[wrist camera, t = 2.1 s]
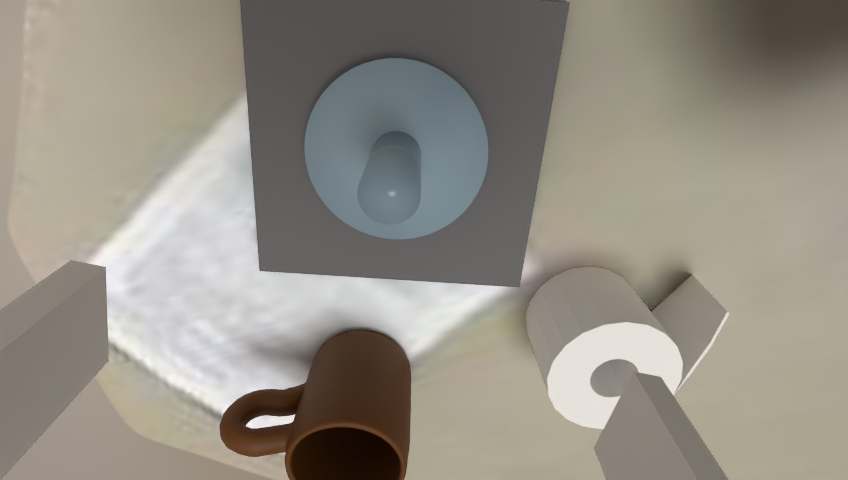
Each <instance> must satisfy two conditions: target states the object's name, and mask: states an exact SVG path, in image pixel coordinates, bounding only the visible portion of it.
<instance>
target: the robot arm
mask: <svg viewBox="0 0 848 480" xmlns="http://www.w3.org/2000/svg"><path fill="white" fill-rule="evenodd" d="M108 361H109V360H108V328H107V296H106V267H102V266H97V265H92V264H87V263H82V262H77V261H72V260H71V261H69V262H68V263H67V264H65V265H64V266H62V267H61V268H59V269H58V270H57V271H55V272H54V273H52V274H51V275H49V276H48V277H47V278H45V279H44V280H42V281H41V282H39V283H38V284H37V285H35V286H34V287H32V288H31V289H29V290H28V291H27V292H25V293H24V294H22V295H21V296H20V297H18V298H17V299H15V300H14V301H12V302H11V303H10V304H8V305H7V306H5V307H4V308H2V309H1V310H0V480H1V479H2V478H3V476H5V475H6V474H7V472H8V471H9V470H10V469H11V468H12V467H13V466H14V465H15V464H16V463H17V461H18V460H19V459H20V458H21V457H22V456H23V455H24V454H25V453H26V452H27V450H28V449H29V448H30V447H31V446H32V445H33V444H34V443H35V442H36V440H37V439H38V438H39V437H40V436H41V435H42V434H43V432H44V431H45V430H46V429H47V428H48V427H49V426H50V425H51V424H52V423H53V422H54V421H55V419H56V418H57V417H58V416H59V415H60V414H61V413H62V412H63V411H64V410H65V408H66V407H67V406H68V405H69V404H70V403H71V402H72V401H73V400H74V398H75V397H76V396H77V395H78V394H79V393H80V392H81V391H82V390H83V388H84V387H85V386H86V385H87V384H88V383H89V382H90V381H91V380H92V379H93V377H94V376H95V375H96V374H97V373H98V372H99V371H100V370H101V369H102V368H103V366H104V365H105V364H106V363H107V362H108ZM594 450H595V452H596V455H597V457H598V460H599V462H600V465H601V468H602V470H603V473H604V475H605V478H606V480H728V478H727V477H726V475H725V474H724V472H723V471H722V469H721V467H720V466H719V464H718V463H717V461H716V460H715V458H714V457H713V455H712V454H711V452H710V451H709V449H708V448H707V446H706V445H705V443H704V442H703V440H702V439H701V437H700V436H699V434H698V432H697V431H696V429H695V428H694V426H693V425H692V423H691V422H690V420H689V419H688V417H687V416H686V414H685V413H684V411H683V410H682V408H681V407H680V405H679V404H678V402H677V401H676V399H675V397H674V396H673V394H672V393H671V391H670V390H669V388H668V387H667V385H666V384H665V382H664V381H663V379H662V378H661V377H659V376H654V375H649V374H644V373H639V372H634V371H633V373H632V375H631V377H630V379H629V381H628V383H627V385H626V387H625V389H624V391H623V393H622V394H621V396H620V398H619V400H618V402H617V404H616V406H615V408H614V410H613V412H612V414H611V416H610V418H609V420H608V421H607V423H606V425H605V427H604V429H603V431H602V433H601V435H600V437H599V439H598V441H597V443H596V445H595V447H594Z"/></svg>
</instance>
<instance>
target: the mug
mask: <svg viewBox="0 0 848 480" xmlns="http://www.w3.org/2000/svg"><path fill="white" fill-rule="evenodd" d="M294 414H296V415H295V418H294V421H293V422H292V423H289V424H285V425H278V426H272V427H265V428H258V429H251V428H248V427H246V424H247V423H248V422H249V421H250V420H252V419H254V418H256V417H258V416H263V415H271V416H289V415H294ZM410 414H411V370H410V365H409V362H408V359H407V357H406V355H405V353H404V352H403V351H402V349H401V348H400V347H399V346H398V345H397V344H396V343H394V342H393V341H392V340H390V339H389V338H387V337H385V336H383V335H381V334H378V333H375V332H370V331H350V332H346V333H342V334H340V335H337V336H335V337H333V338H331V339H330V340H329V341H327V342H326V343H325V344H324V345H323V346H322V347H321V348H320V350H319V351H318V353H317V354H316V356H315V358H314V360H313V363H312V366H311V368H310V372H309V375H308V378H307V381H306V382H305V383H304V384H302V385H299V386H296V387H292V388H288V389H285V390H277V389H265V390H258V391H254V392H251V393H248V394H246V395H244V396H242V397H241V398H239V399H237V400H236V401H235V402H234V403H233V404H232V405H231V406H229V407H228V409H227V410H226V412H225V413H224V414H223V417H222V420H221V423H220V436H221V439H222V441H223V442H224V444H225V445H226V447H227V448H229V449H230V450H232V451H234V452H236V453H238V454H241V455H245V456H249V457H258V456H264V455H270V454H276V453H282V452H286V455H285V467H286V471H287V474H288V477H289V479H290V480H404V478H405V475H406V469H407V460H408V453H409V445H410Z"/></svg>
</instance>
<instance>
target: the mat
mask: <svg viewBox="0 0 848 480" xmlns="http://www.w3.org/2000/svg"><path fill="white" fill-rule="evenodd" d="M240 3H241V17H242V31H243V45H244V59H245V73H246V87H247V101H248V115H249V129H250V143H251V157H252V171H253V185H254V199H255V213H256V227H257V241H258V255H259V269H260V271H270V272H286V273H302V274H318V275H333V276H349V277H365V278H381V279H397V280H413V281H428V282H444V283H460V284H476V285H492V286H507V287H519V286H520V280H521V274H522V269H523V263H524V258H525V252H526V246H527V241H528V235H529V229H530V224H531V218H532V212H533V207H534V201H535V195H536V190H537V184H538V179H539V173H540V167H541V162H542V156H543V150H544V145H545V139H546V133H547V128H548V122H549V116H550V111H551V105H552V99H553V94H554V88H555V83H556V77H557V71H558V66H559V60H560V54H561V49H562V43H563V37H564V32H565V26H566V20H567V15H568V9H569V3H567V2H555V1H543V0H240ZM388 57H402V58H409V59H415V60H419V61H422V62H426V63H428V64H431V65H433V66H435V67H437V68H439V69H441V70H442V71H444V72H446V73H447V74H449V75H450V76H451V77H452V78H454V79H455V80H456V81H457V82H458V83H459V84H460V85H461V86H462V87H463V88H464V89H465V90H466V91H467V93H468V94H469V95H470V97H471V98H472V100H473V101H474V103H475V105H476V107H477V109H478V111H479V113H480V114H481V117H482V120H483V122H484V125H485V129H486V134H487V138H488V163H487V169H486V174H485V177H484V180H483V183H482V185H481V187H480V189H479V191H478V193H477V195H476V197H475V198H474V200H473V201H472V203H471V204H470V205H469V207H468V208H467V209H466V210H465V211H464V212H463V213H462V214H461V215H460V216H459V217H458V218H457V219H456V220H454V221H453V222H452V223H450V224H449V225H447V226H446V227H444V228H442V229H440V230H438V231H436V232H433V233H431V234H428V235H425V236H421V237H417V238H411V239H386V238H380V237H376V236H372V235H369V234H366V233H363V232H361V231H359V230H357V229H355V228H353V227H351V226H349V225H348V224H346V223H345V222H343V221H342V220H340V219H339V218H338V217H337V216H336V215H335V214H334V213H332V212H331V211H330V209H329V208H328V207H327V206H326V205H325V204H324V202H323V201H322V200H321V198H320V197H319V195H318V194H317V192H316V190H315V188H314V186H313V184H312V182H311V179H310V177H309V174H308V170H307V166H306V161H305V151H304V146H305V134H306V128H307V124H308V121H309V118H310V115H311V112H312V110H313V108H314V106H315V104H316V102H317V101H318V99H319V98H320V96H321V95H322V93H323V92H324V91H325V90H326V89H327V88H328V87H329V86H330V84H332V83H333V82H334V81H335V80H336V79H337V78H339V77H340V76H341V75H342V74H344V73H345V72H347V71H349V70H350V69H352V68H353V67H356V66H358V65H360V64H362V63H365V62H368V61H372V60H375V59H381V58H388Z"/></svg>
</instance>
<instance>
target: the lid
mask: <svg viewBox="0 0 848 480" xmlns="http://www.w3.org/2000/svg"><path fill="white" fill-rule="evenodd" d="M304 151H305V161H306V166H307V170H308V174H309V177H310V179H311V182H312V184H313V186H314V188H315V190H316V192H317V194H318V195H319V197H320V198H321V200H322V201H323V202H324V204H325V205H326V206H327V207H328V208H329V209H330V211H331V212H332V213H334V214H335V215H336V216H337V217H338V218H339V219H340V220H342V221H343V222H345V223H346V224H348V225H349V226H351V227H353V228H355V229H357V230H359V231H361V232H363V233H366V234H369V235H372V236H376V237H380V238H386V239H411V238H417V237H421V236H425V235H428V234H431V233H433V232H436V231H438V230H440V229H442V228H444V227H446V226H447V225H449V224H450V223H452V222H453V221H454V220H456V219H457V218H458V217H459V216H460V215H461V214H462V213H463V212H464V211H465V210H466V209H467V208H468V207H469V205H470V204H471V203H472V201H473V200H474V198H475V197H476V195H477V193H478V191H479V189H480V187H481V185H482V183H483V180H484V177H485V174H486V169H487V163H488V138H487V134H486V129H485V125H484V122H483V120H482V117H481V114H480V113H479V111H478V109H477V107H476V105H475V103H474V101H473V100H472V98H471V97H470V95H469V94H468V93H467V91H466V90H465V89H464V88H463V87H462V86H461V85H460V84H459V83H458V82H457V81H456V80H455V79H454V78H452V77H451V76H450V75H449V74H447V73H446V72H444V71H442V70H441V69H439V68H437V67H435V66H433V65H431V64H428V63H426V62H422V61H419V60H415V59H409V58H402V57H388V58H381V59H375V60H372V61H368V62H365V63H362V64H360V65H358V66H356V67H353V68H352V69H350V70H349V71H347V72H345V73H344V74H342V75H341V76H340V77H339V78H337V79H336V80H335V81H334V82H333V83H332V84H330V86H329V87H328V88H327V89H326V90H325V91H324V92H323V93H322V95H321V96H320V98H319V99H318V101H317V102H316V104H315V106H314V108H313V110H312V112H311V115H310V118H309V121H308V124H307V128H306V134H305V146H304Z"/></svg>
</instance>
